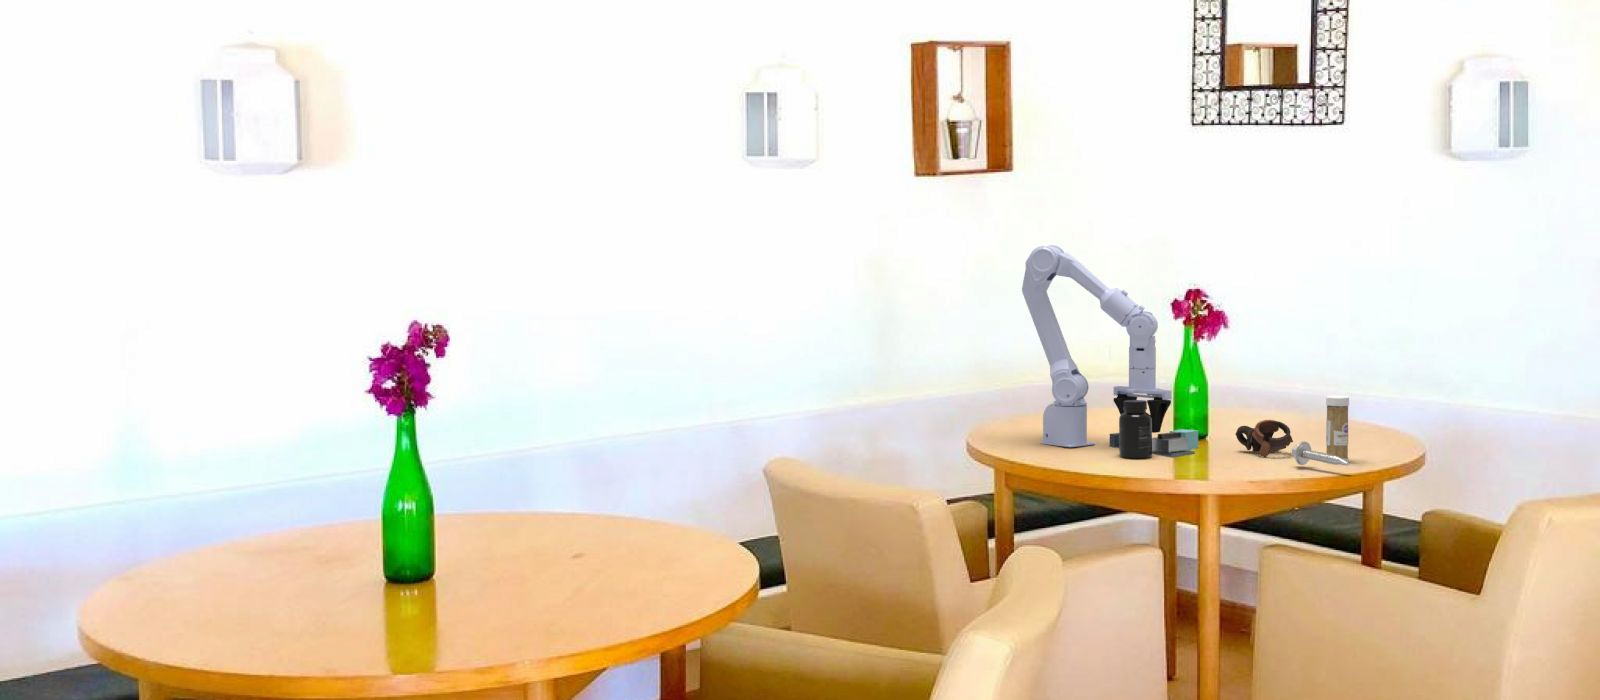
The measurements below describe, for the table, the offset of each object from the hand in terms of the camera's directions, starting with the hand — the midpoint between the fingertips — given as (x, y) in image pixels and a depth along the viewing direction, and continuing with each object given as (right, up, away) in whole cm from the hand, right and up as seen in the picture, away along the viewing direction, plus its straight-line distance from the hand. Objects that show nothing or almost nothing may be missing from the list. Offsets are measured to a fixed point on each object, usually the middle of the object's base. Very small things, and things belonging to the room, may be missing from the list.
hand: (1141, 430), depth 400 cm
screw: (+31, -7, -28) cm, 42 cm away
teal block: (+9, -5, 0) cm, 10 cm away
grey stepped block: (+5, -5, -6) cm, 9 cm away
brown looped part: (+24, -6, -6) cm, 25 cm away
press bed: (+2, -5, -2) cm, 5 cm away
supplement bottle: (-3, -5, -10) cm, 11 cm away
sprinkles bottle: (+37, -6, -18) cm, 41 cm away
